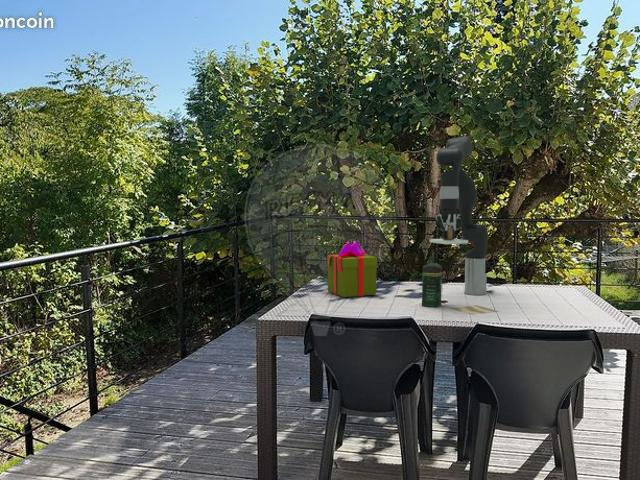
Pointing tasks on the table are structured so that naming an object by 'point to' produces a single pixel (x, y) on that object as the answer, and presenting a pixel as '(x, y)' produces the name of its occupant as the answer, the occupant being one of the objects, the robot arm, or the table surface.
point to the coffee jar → (432, 285)
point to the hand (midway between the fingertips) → (448, 239)
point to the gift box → (352, 272)
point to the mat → (474, 309)
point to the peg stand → (449, 239)
